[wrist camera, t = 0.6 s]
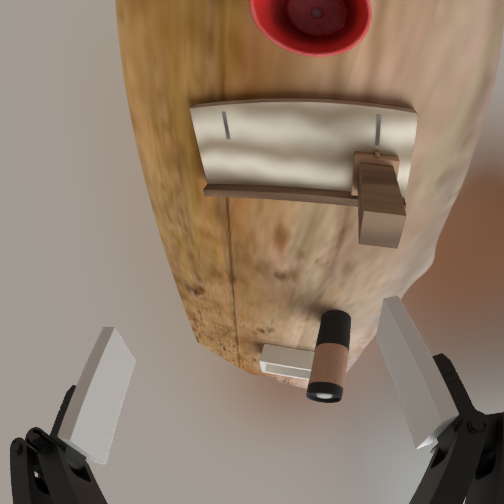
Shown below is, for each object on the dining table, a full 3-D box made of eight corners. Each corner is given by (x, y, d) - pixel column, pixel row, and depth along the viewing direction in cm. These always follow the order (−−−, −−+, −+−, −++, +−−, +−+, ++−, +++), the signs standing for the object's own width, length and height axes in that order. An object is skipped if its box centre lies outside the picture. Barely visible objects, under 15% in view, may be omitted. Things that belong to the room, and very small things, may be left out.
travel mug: (357, 323, 63) (347, 402, 50) (329, 328, 68) (316, 403, 55) (343, 306, 60) (331, 391, 47) (315, 313, 65) (298, 393, 51)
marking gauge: (354, 146, 33) (357, 198, 25) (398, 152, 31) (416, 205, 23) (351, 189, 37) (350, 248, 29) (391, 194, 36) (402, 254, 28)
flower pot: (315, 67, 28) (308, 79, 22) (253, 8, 24) (225, 3, 18) (381, 23, 21) (396, 21, 15) (316, -39, 17) (308, -62, 11)
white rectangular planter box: (264, 343, 83) (259, 360, 80) (327, 353, 78) (324, 371, 74) (266, 355, 90) (262, 371, 86) (324, 365, 85) (321, 381, 81)
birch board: (195, 104, 36) (183, 112, 34) (414, 109, 28) (421, 118, 25) (213, 183, 46) (204, 196, 43) (400, 197, 37) (404, 212, 35)
